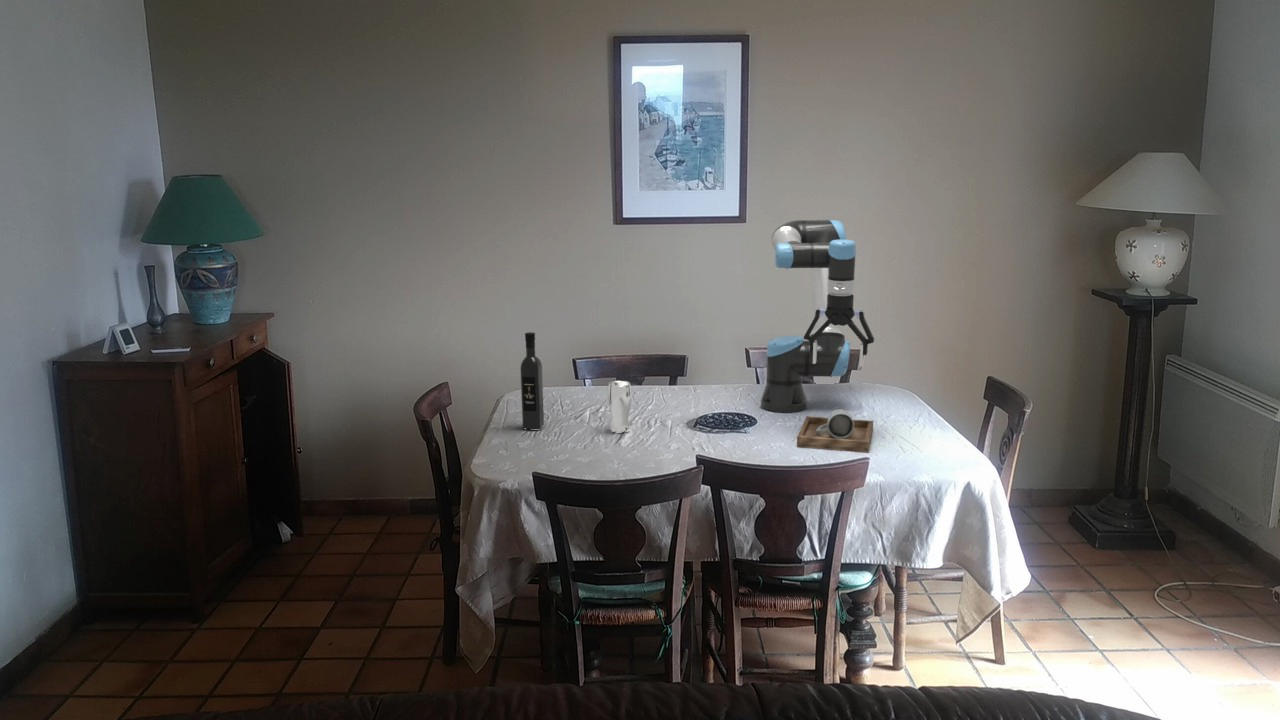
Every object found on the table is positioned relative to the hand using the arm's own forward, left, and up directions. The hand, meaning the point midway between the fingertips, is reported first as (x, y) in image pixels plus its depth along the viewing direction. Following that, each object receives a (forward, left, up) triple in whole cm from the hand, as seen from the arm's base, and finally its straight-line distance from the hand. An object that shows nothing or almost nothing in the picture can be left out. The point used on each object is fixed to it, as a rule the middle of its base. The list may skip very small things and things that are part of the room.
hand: (837, 364), depth 278 cm
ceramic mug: (+1, -6, -20) cm, 21 cm away
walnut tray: (+1, -6, -21) cm, 22 cm away
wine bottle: (-90, -19, -21) cm, 95 cm away
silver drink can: (-63, -15, -21) cm, 68 cm away
